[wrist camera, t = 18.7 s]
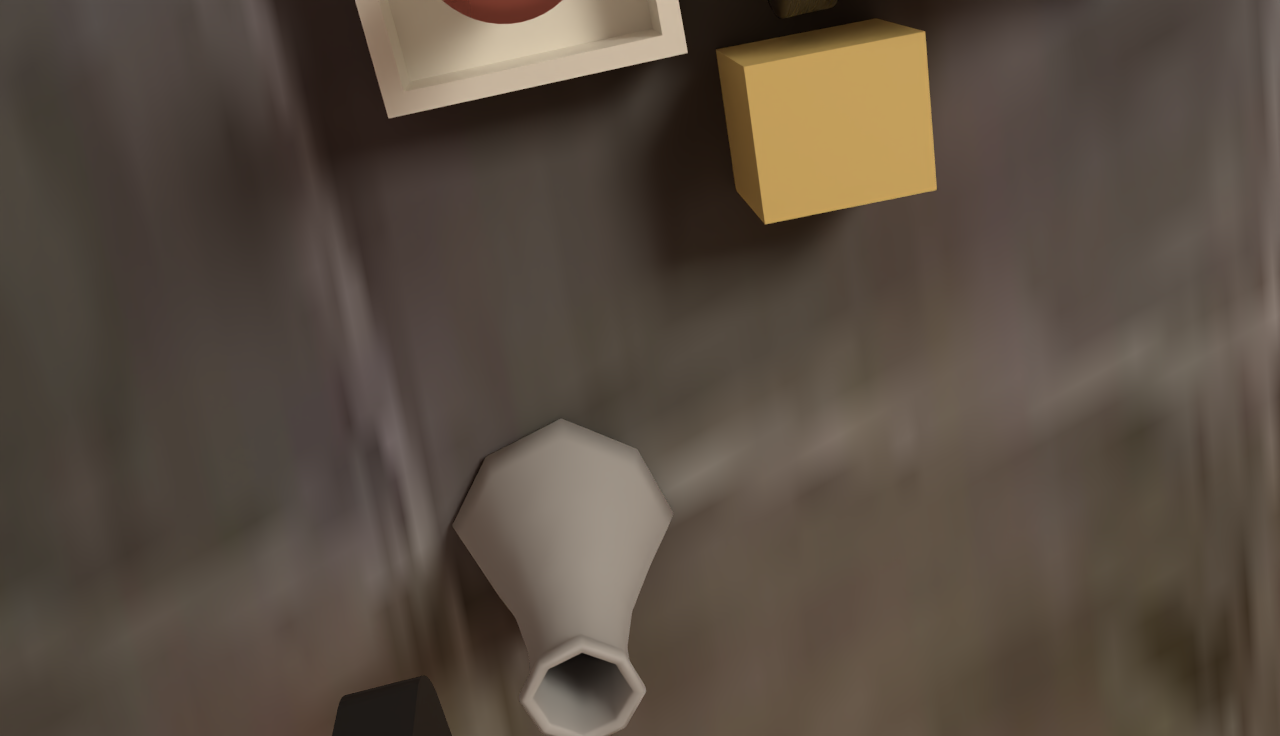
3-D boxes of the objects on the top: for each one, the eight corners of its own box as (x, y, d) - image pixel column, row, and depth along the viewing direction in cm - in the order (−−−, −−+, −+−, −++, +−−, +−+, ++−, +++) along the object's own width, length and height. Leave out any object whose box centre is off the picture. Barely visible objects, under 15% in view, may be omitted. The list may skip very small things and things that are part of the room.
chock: (735, 189, 36) (764, 224, 32) (715, 49, 34) (744, 66, 30) (888, 159, 36) (936, 190, 32) (875, 18, 34) (925, 31, 30)
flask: (559, 380, 38) (579, 529, 28) (708, 507, 40) (771, 683, 31) (414, 524, 39) (388, 711, 30) (566, 638, 41) (586, 845, 32)
